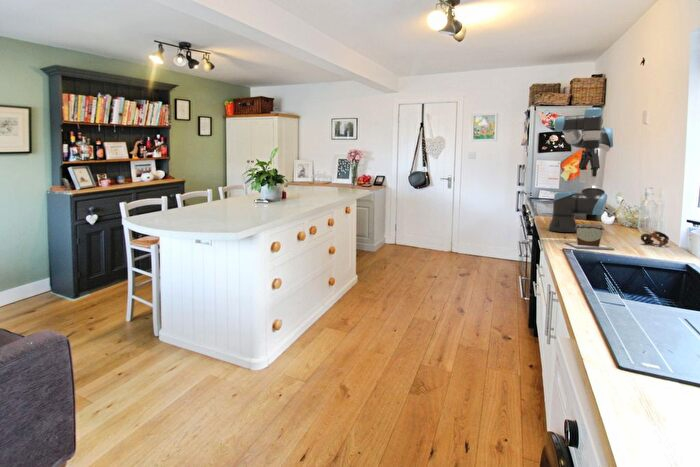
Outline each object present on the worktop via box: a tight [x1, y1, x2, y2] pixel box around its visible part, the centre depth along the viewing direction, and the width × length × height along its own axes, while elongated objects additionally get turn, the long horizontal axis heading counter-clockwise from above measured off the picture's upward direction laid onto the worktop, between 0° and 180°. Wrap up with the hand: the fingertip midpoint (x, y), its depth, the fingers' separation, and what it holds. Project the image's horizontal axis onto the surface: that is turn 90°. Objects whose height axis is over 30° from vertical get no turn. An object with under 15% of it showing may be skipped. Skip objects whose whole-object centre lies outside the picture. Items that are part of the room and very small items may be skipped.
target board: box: [564, 242, 615, 251], centre depth 210 cm, size 18×16×1 cm
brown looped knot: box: [640, 230, 670, 248], centre depth 217 cm, size 12×9×8 cm
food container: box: [575, 223, 605, 247], centre depth 209 cm, size 12×6×10 cm, turn 54°
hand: (587, 183), depth 217 cm, fingers open, 13 cm apart
